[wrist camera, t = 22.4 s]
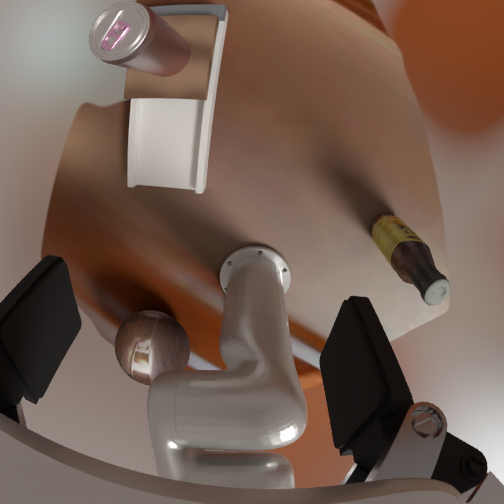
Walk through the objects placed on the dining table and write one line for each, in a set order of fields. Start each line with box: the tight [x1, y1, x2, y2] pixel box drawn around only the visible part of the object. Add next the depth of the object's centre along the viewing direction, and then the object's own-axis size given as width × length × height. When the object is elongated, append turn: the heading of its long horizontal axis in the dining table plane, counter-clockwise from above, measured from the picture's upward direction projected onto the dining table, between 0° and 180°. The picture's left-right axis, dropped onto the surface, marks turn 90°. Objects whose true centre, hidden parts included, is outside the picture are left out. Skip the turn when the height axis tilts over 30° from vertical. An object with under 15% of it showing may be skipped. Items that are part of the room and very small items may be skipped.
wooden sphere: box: [115, 310, 190, 385], centre depth 51 cm, size 15×15×15 cm
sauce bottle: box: [371, 214, 450, 306], centre depth 38 cm, size 7×6×20 cm
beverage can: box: [89, 2, 191, 77], centre depth 22 cm, size 6×6×15 cm
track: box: [128, 4, 228, 194], centre depth 34 cm, size 28×12×5 cm, turn 172°
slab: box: [124, 15, 219, 100], centre depth 30 cm, size 12×11×5 cm
